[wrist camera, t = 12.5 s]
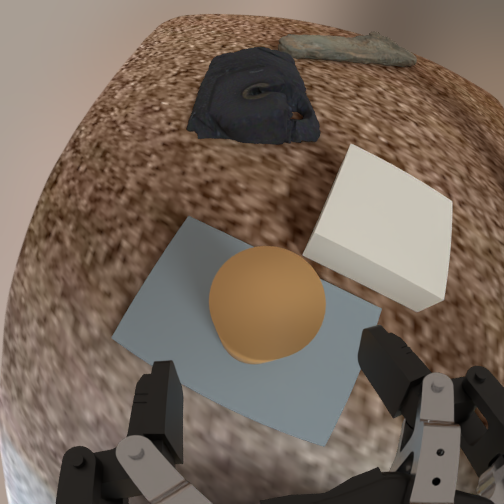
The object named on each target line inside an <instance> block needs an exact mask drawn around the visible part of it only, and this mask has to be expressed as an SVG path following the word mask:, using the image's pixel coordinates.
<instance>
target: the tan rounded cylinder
mask: <svg viewBox="0 0 504 504" xmlns="http://www.w3.org/2000/svg"><path fill="white" fill-rule="evenodd" d="M209 310H210V314H211V318H212V321H213V323H214V326H215V328H216V331H217V333H218V335H219V338H220V340H221V342H222V345H223V347H224V348H225V350H226V351H227V352H228V353H229V354H230V355H231V356H232V357H233V358H234V359H236V360H238V361H240V362H243V363H246V364H262V363H266V362H269V361H273V360H277V359H280V358H284V357H287V356H290V355H292V354H295V353H297V352H298V351H300V350H302V349H303V348H304V347H305V346H307V345H308V344H309V343H310V342H311V341H312V340H313V339H314V337H315V336H316V334H317V333H318V331H319V329H320V327H321V325H322V323H323V320H324V316H325V310H326V298H325V292H324V288H323V285H322V282H321V280H320V278H319V276H318V275H317V273H316V272H315V270H314V269H313V268H312V267H311V265H310V264H309V263H308V262H306V261H305V260H304V259H303V258H301V257H300V256H299V255H297V254H295V253H293V252H291V251H289V250H286V249H283V248H279V247H273V246H259V247H253V248H249V249H246V250H243V251H241V252H239V253H237V254H235V255H234V256H232V257H231V258H230V259H229V260H227V261H226V262H225V263H224V264H223V265H222V267H221V268H220V269H219V271H218V272H217V274H216V275H215V277H214V279H213V282H212V285H211V288H210V293H209Z"/></svg>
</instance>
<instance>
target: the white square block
mask: <svg viewBox="0 0 504 504" xmlns="http://www.w3.org/2000/svg"><path fill="white" fill-rule="evenodd" d="M451 231H452V201H451V200H449V199H448V198H446V197H445V196H443V195H442V194H440V193H439V192H437V191H436V190H434V189H433V188H431V187H429V186H428V185H426V184H425V183H423V182H421V181H420V180H418V179H416V178H415V177H413V176H411V175H410V174H408V173H406V172H404V171H403V170H401V169H399V168H397V167H395V166H394V165H392V164H390V163H388V162H386V161H384V160H383V159H381V158H379V157H377V156H375V155H373V154H371V153H369V152H367V151H365V150H363V149H361V148H359V147H357V146H355V145H353V144H351V145H350V147H349V149H348V151H347V153H346V156H345V158H344V160H343V162H342V164H341V166H340V169H339V171H338V173H337V176H336V178H335V181H334V183H333V186H332V188H331V190H330V193H329V195H328V197H327V200H326V202H325V205H324V207H323V209H322V212H321V214H320V216H319V218H318V221H317V223H316V225H315V228H314V230H313V232H312V234H311V237H310V239H309V241H308V243H307V246H306V248H305V250H304V252H303V254H302V255H303V256H305V257H307V258H309V259H311V260H313V261H315V262H317V263H319V264H321V265H323V266H326V267H328V268H330V269H332V270H334V271H336V272H338V273H340V274H342V275H344V276H346V277H348V278H350V279H352V280H354V281H356V282H358V283H360V284H362V285H364V286H366V287H368V288H370V289H372V290H374V291H376V292H378V293H380V294H382V295H384V296H386V297H388V298H390V299H392V300H394V301H396V302H398V303H400V304H402V305H404V306H406V307H408V308H410V309H412V310H414V311H416V312H419V311H421V310H423V309H426V308H428V307H430V306H432V305H434V304H437V303H439V302H441V301H443V300H444V296H445V290H446V283H447V275H448V267H449V258H450V246H451Z"/></svg>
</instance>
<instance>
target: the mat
mask: <svg viewBox="0 0 504 504" xmlns="http://www.w3.org/2000/svg"><path fill="white" fill-rule="evenodd" d="M249 248H253V246H251V245H249V244H247V243H245V242H243V241H241V240H238V239H236V238H234V237H232V236H230V235H228V234H226V233H224V232H222V231H220V230H217V229H215V228H213V227H211V226H209V225H207V224H205V223H203V222H201V221H199V220H196V219H194V218H192V217H190V216H188V217H187V219H186V220H185V222H184V223H183V225H182V226H181V227H180V229H179V230H178V232H177V233H176V235H175V236H174V238H173V239H172V241H171V242H170V244H169V245H168V247H167V248H166V250H165V251H164V253H163V254H162V256H161V257H160V259H159V260H158V262H157V263H156V265H155V266H154V268H153V269H152V271H151V273H150V274H149V276H148V277H147V279H146V280H145V282H144V284H143V285H142V287H141V289H140V290H139V292H138V293H137V295H136V297H135V298H134V300H133V302H132V303H131V305H130V307H129V308H128V310H127V312H126V313H125V315H124V317H123V318H122V320H121V322H120V324H119V325H118V327H117V329H116V331H115V332H114V334H113V336H112V339H113V340H115V341H116V342H118V343H119V344H120V345H122V346H123V347H125V348H126V349H127V350H129V351H130V352H132V353H133V354H135V355H136V356H138V357H139V358H141V359H142V360H144V361H145V362H147V363H148V364H150V365H151V366H153V363H154V361H166V360H172V361H173V363H174V365H175V368H176V371H177V374H178V377H179V380H180V383H181V384H183V385H184V386H186V387H188V388H190V389H192V390H193V391H195V392H197V393H199V394H201V395H203V396H204V397H206V398H208V399H210V400H212V401H214V402H216V403H218V404H220V405H222V406H224V407H226V408H228V409H230V410H232V411H234V412H236V413H239V414H241V415H243V416H245V417H247V418H250V419H252V420H254V421H256V422H259V423H261V424H263V425H266V426H268V427H271V428H273V429H276V430H278V431H281V432H283V433H286V434H289V435H291V436H294V437H297V438H300V439H302V440H305V441H308V442H311V443H314V444H317V445H320V446H323V447H324V446H325V444H326V443H327V441H328V439H329V437H330V435H331V433H332V431H333V429H334V427H335V425H336V423H337V421H338V419H339V417H340V415H341V413H342V411H343V409H344V406H345V404H346V402H347V400H348V398H349V395H350V393H351V391H352V388H353V386H354V384H355V381H356V379H357V377H358V374H359V372H360V369H361V368H360V366H359V363H358V350H359V345H360V340H361V335H362V331H363V329H365V328H368V327H372V326H375V325H377V322H378V319H379V316H380V313H381V308H379V307H377V306H375V305H373V304H371V303H369V302H367V301H365V300H363V299H361V298H359V297H357V296H355V295H353V294H350V293H348V292H346V291H344V290H342V289H340V288H338V287H336V286H334V285H332V284H330V283H328V282H326V281H324V280H322V279H320V280H321V282H322V285H323V288H324V292H325V298H326V310H325V316H324V320H323V323H322V325H321V327H320V329H319V331H318V333H317V334H316V336H315V337H314V339H313V340H312V341H311V342H310V343H309V344H308V345H307V346H305V347H304V348H303V349H302V350H300V351H298V352H297V353H295V354H292V355H290V356H287V357H284V358H280V359H277V360H273V361H269V362H266V363H262V364H246V363H243V362H240V361H238V360H236V359H234V358H233V357H232V356H231V355H230V354H229V353H228V352H227V351H226V350H225V348H224V347H223V345H222V342H221V340H220V338H219V335H218V333H217V331H216V328H215V326H214V323H213V321H212V318H211V314H210V310H209V293H210V288H211V285H212V282H213V279H214V277H215V275H216V274H217V272H218V271H219V269H220V268H221V267H222V265H223V264H224V263H225V262H226V261H227V260H229V259H230V258H231V257H232V256H234V255H235V254H237V253H239V252H241V251H243V250H246V249H249Z"/></svg>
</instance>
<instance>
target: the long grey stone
mask: <svg viewBox="0 0 504 504" xmlns="http://www.w3.org/2000/svg"><path fill="white" fill-rule="evenodd" d="M278 51H281V52H286V53H288V54H290V55H291V56H292V58H296V59H299V58H311V59H325V60H334V61H348V62H358V63H365V64H368V63H378V64H383V65H388V66H390V65H394V66H401V67H405V66H412V65H415V64H416V60H417V59H416V57H415V56H414V55H413V54H412V53H411V52H410V51H408V50H406V49H404V48H402V47H400V46H399V45H398V44H397V43H395V42H394V41H392V40H391V39H390V38H388V37H383V36H380V34H379V32H378V33H376V32H371V33H369V35H366V36H356V37H354V38H349V37H348V38H345V37H340V36H320V35H291V34H288V35H287V36H285V37H282V38H281V39H280V40H279V45H278Z"/></svg>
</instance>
